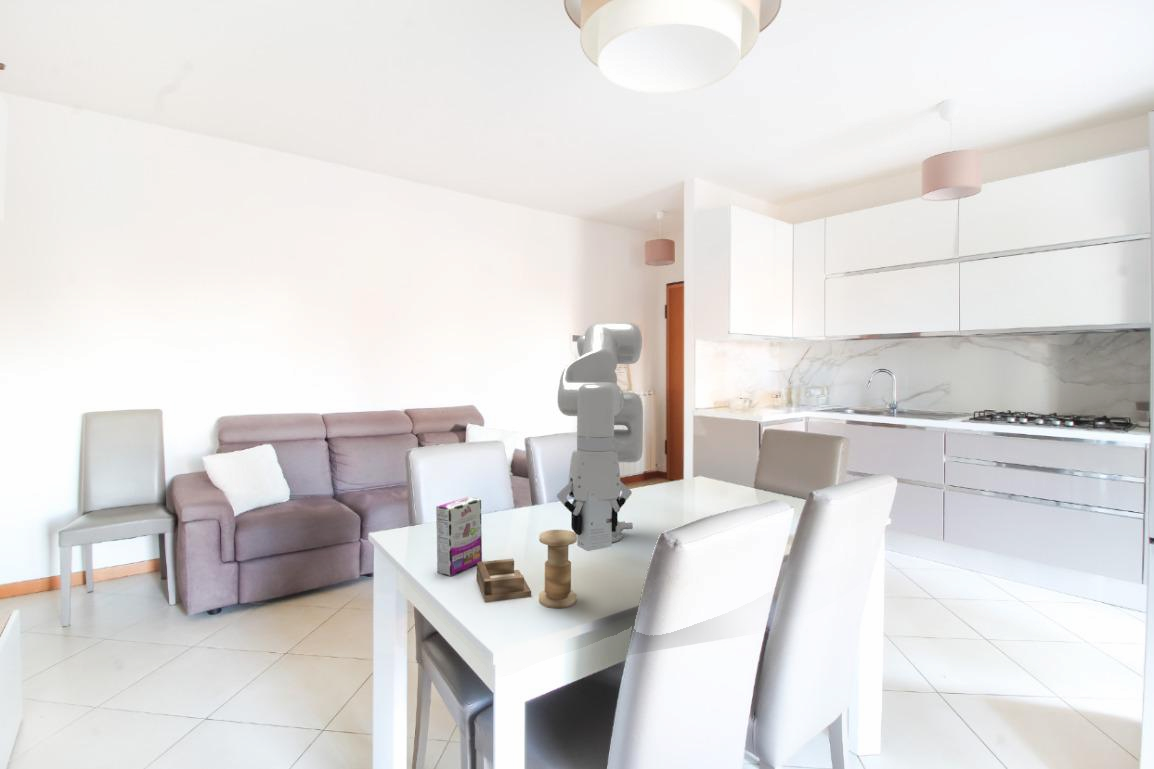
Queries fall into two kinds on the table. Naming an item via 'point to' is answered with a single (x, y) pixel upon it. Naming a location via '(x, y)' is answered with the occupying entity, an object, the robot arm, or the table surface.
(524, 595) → the wooden u-shaped holder
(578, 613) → the table surface
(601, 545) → the skincare box
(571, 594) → the bobbin
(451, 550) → the candy bar box
